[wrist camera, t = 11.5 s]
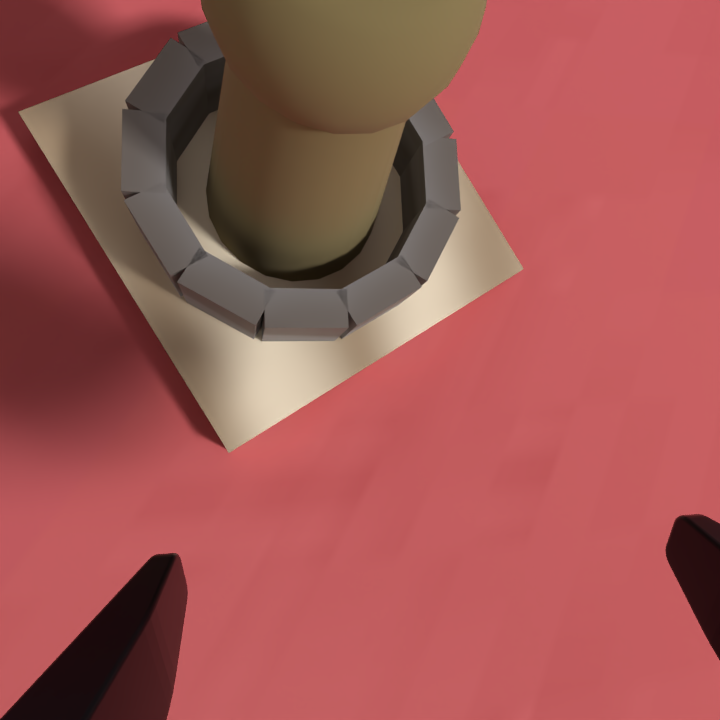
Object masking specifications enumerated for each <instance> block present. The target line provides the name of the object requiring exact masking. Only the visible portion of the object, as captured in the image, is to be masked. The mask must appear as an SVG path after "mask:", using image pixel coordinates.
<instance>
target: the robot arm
mask: <svg viewBox="0 0 720 720" xmlns="http://www.w3.org/2000/svg"><path fill="white" fill-rule="evenodd" d="M666 557H667V560H668V562H669V565H670V567H671V568H672V570H673V572H674V574H675V576H676V578H677V580H678V582H679V584H680V586H681V588H682V590H683V592H684V594H685V596H686V598H687V600H688V602H689V604H690V606H691V608H692V610H693V612H694V614H695V616H696V618H697V620H698V622H699V624H700V626H701V628H702V630H703V632H704V634H705V636H706V637H707V639H708V641H709V643H710V645H711V646H712V648H713V650H714V651H715V653H716V655H717V657H718V658H719V660H720V524H719V523H718V522H716V521H714V520H712V519H710V518H708V517H706V516H704V515H700V514H694V515H681V516H679V517H678V518H676V520H675V522H674V524H673V527H672V530H671V533H670V536H669V539H668V542H667V545H666ZM187 595H188V591H187V583H186V579H185V575H184V571H183V567H182V563H181V559H180V557H179V555H178V554H176V553H169V554H157V555H154V556H152V557H151V558H150V559H149V560H148V561H147V562H146V563H145V564H144V565H143V566H142V568H141V569H140V570H139V571H138V572H137V573H136V574H135V575H134V576H133V577H132V578H131V579H130V580H129V581H128V583H127V584H126V585H125V586H124V587H123V588H122V589H121V590H120V591H119V592H118V593H117V594H116V595H115V596H114V598H113V599H112V600H111V601H110V602H109V603H108V604H107V605H106V606H105V607H104V608H103V609H102V610H101V612H100V613H99V614H98V615H97V616H96V617H95V618H94V619H93V620H92V621H91V622H90V623H89V624H88V625H87V627H86V628H85V629H84V630H83V631H82V632H81V633H80V634H79V635H78V636H77V637H76V638H75V639H74V641H73V642H72V643H71V644H70V645H69V646H68V647H67V648H66V649H65V650H64V651H63V652H62V653H61V654H60V656H59V657H58V658H57V659H56V660H55V661H54V662H53V663H52V664H51V665H50V666H49V667H48V668H47V669H46V671H45V672H44V673H43V674H42V675H41V676H40V677H39V678H38V679H37V680H36V681H35V682H34V683H33V685H32V686H31V687H30V688H29V689H28V690H27V691H26V692H25V693H24V694H23V695H22V696H21V697H20V698H19V700H18V701H17V702H16V703H15V704H14V705H13V706H12V707H11V708H10V709H9V710H8V711H7V712H6V714H5V715H4V716H3V717H2V718H1V719H0V720H166V719H167V715H168V712H169V708H170V703H171V699H172V694H173V689H174V683H175V677H176V671H177V664H178V658H179V651H180V644H181V638H182V631H183V624H184V617H185V611H186V604H187Z"/></svg>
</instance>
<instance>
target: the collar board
mask: <svg viewBox="0 0 720 720" xmlns="http://www.w3.org/2000/svg"><path fill="white" fill-rule="evenodd" d="M178 38H179V43H178V42H177V41H175V40H173V39H172V38H170V40H169V41H168V42H167V44H166V45H165V46H164V48H163V49H162V51H161V52H160V53H159V55H158V56H157V57H156V59H154V60H151V61H149V62H146V63H143V64H141V65H138V66H136V67H133V68H131V69H128V70H125V71H123V72H120V73H118V74H115V75H112V76H110V77H107V78H105V79H102V80H99V81H97V82H94V83H92V84H89V85H86V86H84V87H81V88H79V89H76V90H73V91H71V92H68V93H66V94H63V95H60V96H58V97H55V98H53V99H50V100H47V101H45V102H42V103H40V104H37V105H35V106H32V107H29V108H27V109H24V110H22V111H19V114H20V116H21V117H22V119H23V121H24V122H25V124H26V125H27V127H28V129H29V130H30V132H31V133H32V135H33V137H34V138H35V140H36V142H37V143H38V145H39V146H40V148H41V150H42V151H43V153H44V155H45V156H46V158H47V159H48V161H49V163H50V164H51V166H52V167H53V169H54V171H55V172H56V174H57V176H58V177H59V179H60V180H61V182H62V184H63V185H64V187H65V189H66V190H67V192H68V193H69V195H70V197H71V198H72V200H73V201H74V203H75V205H76V206H77V208H78V210H79V211H80V213H81V214H82V216H83V218H84V219H85V221H86V222H87V224H88V226H89V227H90V229H91V231H92V232H93V234H94V235H95V237H96V239H97V240H98V242H99V244H100V245H101V247H102V248H103V250H104V252H105V253H106V255H107V256H108V258H109V260H110V261H111V263H112V265H113V266H114V268H115V269H116V271H117V273H118V274H119V276H120V278H121V279H122V281H123V282H124V284H125V286H126V287H127V289H128V290H129V292H130V294H131V295H132V297H133V299H134V300H135V302H136V303H137V305H138V307H139V308H140V310H141V311H142V313H143V315H144V316H145V318H146V320H147V321H148V323H149V324H150V326H151V328H152V329H153V331H154V333H155V334H156V336H157V337H158V339H159V341H160V342H161V344H162V345H163V347H164V349H165V350H166V352H167V354H168V355H169V357H170V358H171V360H172V362H173V363H174V365H175V367H176V368H177V370H178V371H179V373H180V375H181V376H182V378H183V379H184V381H185V383H186V384H187V386H188V388H189V389H190V391H191V392H192V394H193V396H194V397H195V399H196V400H197V402H198V404H199V405H200V407H201V409H202V410H203V412H204V413H205V415H206V417H207V418H208V420H209V422H210V423H211V425H212V426H213V428H214V430H215V431H216V433H217V434H218V436H219V438H220V439H221V441H222V443H223V444H224V446H225V447H226V449H227V451H228V452H231V451H233V450H234V449H236V448H237V447H239V446H241V445H242V444H244V443H245V442H247V441H249V440H250V439H252V438H253V437H255V436H257V435H258V434H260V433H262V432H263V431H265V430H266V429H268V428H270V427H271V426H273V425H274V424H276V423H278V422H279V421H281V420H282V419H284V418H286V417H287V416H289V415H290V414H292V413H294V412H295V411H297V410H298V409H300V408H302V407H303V406H305V405H306V404H308V403H310V402H311V401H313V400H314V399H316V398H318V397H319V396H321V395H322V394H324V393H326V392H327V391H329V390H330V389H332V388H334V387H335V386H337V385H338V384H340V383H342V382H343V381H345V380H346V379H348V378H350V377H351V376H353V375H354V374H356V373H358V372H359V371H361V370H362V369H364V368H366V367H367V366H369V365H370V364H372V363H374V362H375V361H377V360H378V359H380V358H382V357H383V356H385V355H387V354H388V353H390V352H391V351H393V350H395V349H396V348H398V347H399V346H401V345H403V344H404V343H406V342H407V341H409V340H411V339H412V338H414V337H415V336H417V335H419V334H420V333H422V332H423V331H425V330H427V329H428V328H430V327H431V326H433V325H435V324H436V323H438V322H439V321H441V320H443V319H444V318H446V317H447V316H449V315H451V314H452V313H454V312H455V311H457V310H459V309H460V308H462V307H463V306H465V305H467V304H468V303H470V302H471V301H473V300H475V299H476V298H478V297H479V296H481V295H483V294H484V293H486V292H487V291H489V290H491V289H492V288H494V287H495V286H497V285H499V284H500V283H502V282H504V281H505V280H507V279H508V278H510V277H512V276H513V275H515V274H516V273H518V272H520V271H521V270H523V267H522V265H521V264H520V262H519V261H518V259H517V257H516V256H515V254H514V252H513V251H512V249H511V247H510V246H509V244H508V242H507V241H506V239H505V238H504V236H503V234H502V233H501V231H500V229H499V228H498V226H497V224H496V223H495V221H494V219H493V218H492V216H491V215H490V213H489V211H488V210H487V208H486V206H485V205H484V203H483V201H482V200H481V198H480V196H479V195H478V193H477V192H476V190H475V188H474V187H473V185H472V183H471V182H470V180H469V178H468V177H467V175H466V173H465V172H464V170H463V169H462V167H461V165H460V164H459V162H458V159H457V144H456V139H449V137H450V136H451V134H452V133H453V132H454V131H453V130H452V128H451V126H450V125H449V123H448V121H447V120H446V118H445V116H444V115H443V113H442V112H441V110H440V108H439V107H438V105H437V103H436V102H435V100H434V98H433V99H432V100H431V101H430V102H429V103H427V104H426V105H425V106H424V107H423V108H421V109H420V110H419V111H418V112H417V113H415V114H414V115H413V116H412V117H410V118H409V119H408V120H407V121H406V123H405V126H404V129H403V132H402V136H401V139H400V142H399V145H398V149H397V152H396V155H395V158H394V161H393V165H392V168H391V171H390V174H389V178H388V181H387V184H386V187H385V191H384V194H383V197H382V200H381V204H380V207H379V210H378V213H377V217H376V220H375V223H374V226H373V230H372V232H371V234H370V236H369V238H368V240H367V242H366V243H365V245H364V247H363V249H362V251H361V253H360V254H359V255H357V256H356V257H355V258H354V259H353V260H352V261H351V262H350V263H349V264H347V265H346V266H345V267H344V268H343V269H342V270H339V271H337V272H335V273H332V274H330V275H328V276H325V277H323V278H321V279H316V280H305V281H293V282H292V281H287V280H283V279H278V278H274V277H269V276H265V275H263V274H261V273H260V272H258V271H256V270H254V269H253V268H251V267H249V266H247V265H245V264H244V263H242V262H240V261H239V260H238V258H237V257H236V256H235V255H234V254H233V253H232V252H231V251H230V250H229V249H228V248H227V247H226V246H225V245H224V244H223V243H222V242H221V240H220V238H219V236H218V234H217V232H216V230H215V228H214V226H213V223H212V221H211V219H210V217H209V211H208V203H207V195H206V186H207V180H208V173H209V166H210V160H211V153H212V146H213V140H214V133H215V127H216V120H217V113H218V107H219V100H220V94H221V87H222V80H223V74H224V67H225V58H224V56H223V54H222V52H221V49H220V47H219V45H218V43H217V41H216V39H215V37H214V35H213V33H212V31H211V28H210V26H209V24H208V22H205V23H202V24H200V25H197V26H194V27H192V28H189V29H186V30H184V31H181V32H178Z"/></svg>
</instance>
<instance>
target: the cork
mask: <svg viewBox="0 0 720 720" xmlns="http://www.w3.org/2000/svg"><path fill="white" fill-rule="evenodd" d="M486 2H487V0H201V5H202V10H203V12H204V14H205V17H206V19H207V21H208V24H209V26H210V28H211V31H212V33H213V35H214V37H215V39H216V41H217V43H218V45H219V47H220V49H221V52H222V54H223V56H224V58H225V67H224V74H223V80H222V87H221V94H220V100H219V107H218V113H217V120H216V127H215V133H214V140H213V146H212V153H211V160H210V166H209V173H208V180H207V186H206V195H207V203H208V211H209V217H210V219H211V221H212V223H213V226H214V228H215V230H216V232H217V234H218V236H219V238H220V240H221V242H222V243H223V244H224V245H225V246H226V247H227V248H228V249H229V250H230V251H231V252H232V253H233V254H234V255H235V256H236V257H237V258H238V260H239V261H240V262H242V263H244V264H245V265H247V266H249V267H251V268H253V269H254V270H256V271H258V272H260V273H261V274H263V275H265V276H269V277H274V278H278V279H283V280H287V281H292V282H293V281H305V280H316V279H321V278H323V277H325V276H328V275H330V274H332V273H335V272H337V271H339V270H342V269H343V268H344V267H345V266H346V265H347V264H349V263H350V262H351V261H352V260H353V259H354V258H355V257H356V256H357V255H359V254H360V253H361V251H362V249H363V247H364V245H365V243H366V242H367V240H368V238H369V236H370V234H371V232H372V230H373V226H374V223H375V220H376V217H377V213H378V210H379V207H380V204H381V200H382V197H383V194H384V191H385V187H386V184H387V181H388V178H389V174H390V171H391V168H392V165H393V161H394V158H395V155H396V152H397V149H398V145H399V142H400V139H401V136H402V132H403V129H404V126H405V123H406V121H407V120H408V119H409V118H410V117H412V116H413V115H414V114H415V113H417V112H418V111H419V110H420V109H421V108H423V107H424V106H425V105H426V104H427V103H429V102H430V101H431V100H432V99H433V98H435V97H436V96H437V95H438V94H439V93H440V92H442V91H443V90H444V89H445V88H446V87H448V85H449V84H450V82H451V80H452V79H453V77H454V76H455V74H456V73H457V71H458V69H459V68H460V66H461V64H462V63H463V61H464V59H465V57H466V55H467V53H468V52H469V50H470V48H471V46H472V44H473V42H474V40H475V39H476V37H477V35H478V33H479V29H480V26H481V22H482V19H483V15H484V11H485V8H486Z"/></svg>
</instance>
